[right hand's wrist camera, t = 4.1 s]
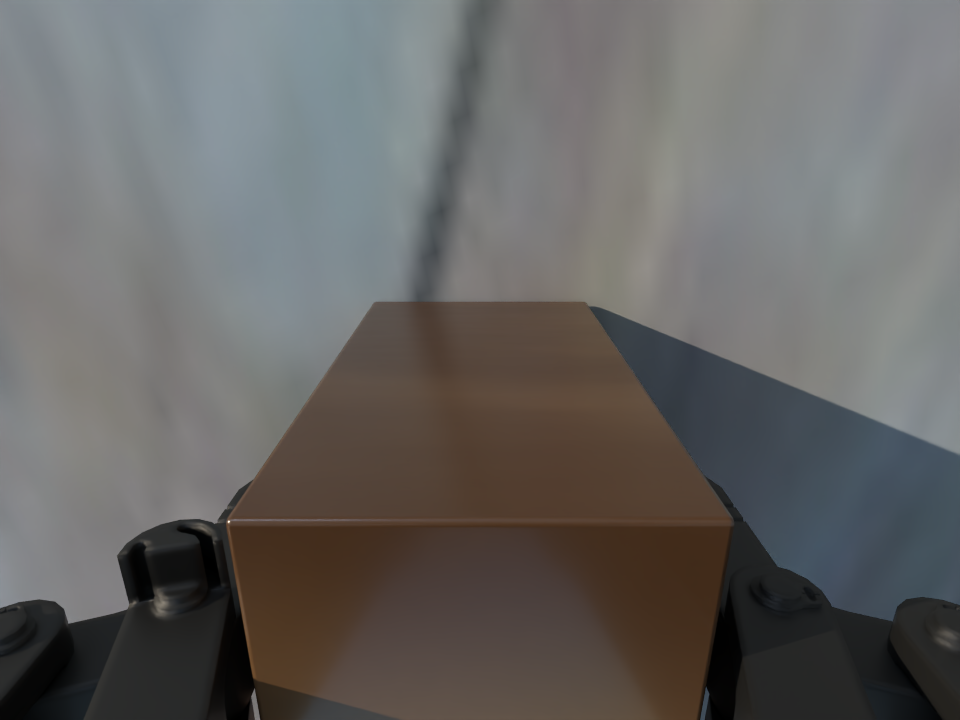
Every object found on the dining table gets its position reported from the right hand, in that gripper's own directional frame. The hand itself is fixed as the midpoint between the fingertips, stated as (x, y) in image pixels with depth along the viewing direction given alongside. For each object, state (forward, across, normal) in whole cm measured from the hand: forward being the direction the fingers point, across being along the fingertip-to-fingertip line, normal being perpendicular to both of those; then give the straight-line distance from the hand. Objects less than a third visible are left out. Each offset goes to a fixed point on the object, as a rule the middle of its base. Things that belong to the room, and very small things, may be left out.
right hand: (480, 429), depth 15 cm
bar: (+1, 0, -9) cm, 9 cm away
